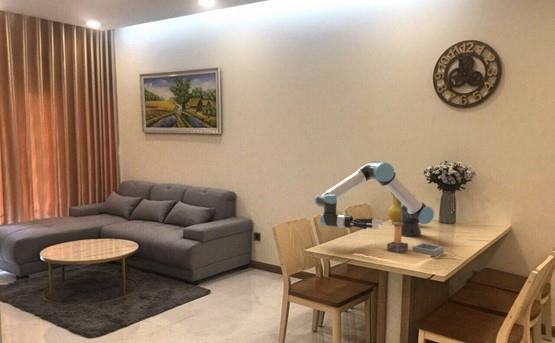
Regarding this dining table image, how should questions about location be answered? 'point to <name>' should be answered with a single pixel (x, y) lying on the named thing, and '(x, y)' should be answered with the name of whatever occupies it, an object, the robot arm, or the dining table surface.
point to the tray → (429, 249)
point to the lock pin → (397, 232)
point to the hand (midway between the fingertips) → (380, 224)
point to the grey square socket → (397, 248)
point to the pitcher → (395, 210)
